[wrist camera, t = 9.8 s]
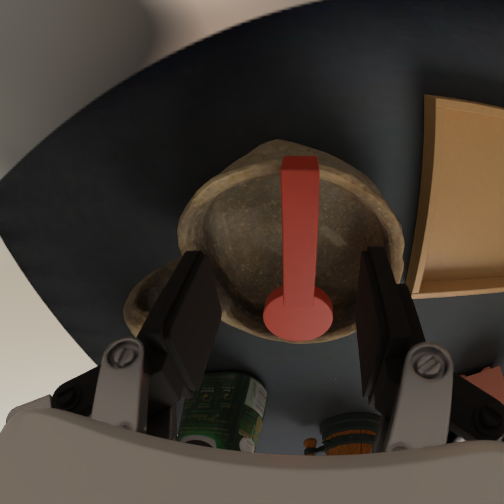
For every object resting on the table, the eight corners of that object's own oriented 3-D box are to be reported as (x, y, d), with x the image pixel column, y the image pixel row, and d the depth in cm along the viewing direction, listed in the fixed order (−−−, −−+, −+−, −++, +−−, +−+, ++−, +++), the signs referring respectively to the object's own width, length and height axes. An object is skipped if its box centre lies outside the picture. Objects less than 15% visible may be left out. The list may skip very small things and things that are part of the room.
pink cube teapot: (431, 379, 30) (442, 436, 24) (509, 355, 27) (527, 406, 20) (424, 406, 34) (431, 456, 28) (494, 385, 31) (507, 431, 24)
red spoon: (254, 155, 13) (247, 169, 11) (345, 156, 12) (352, 171, 11) (266, 329, 19) (261, 354, 18) (329, 331, 19) (329, 357, 17)
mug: (386, 407, 35) (390, 483, 25) (381, 433, 40) (383, 496, 31) (294, 416, 39) (285, 490, 29) (304, 440, 44) (298, 501, 34)
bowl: (392, 282, 24) (418, 383, 15) (199, 307, 28) (164, 396, 20) (376, 112, 17) (440, 155, 8) (135, 171, 22) (51, 240, 13)
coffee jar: (212, 401, 39) (180, 521, 24) (182, 370, 35) (136, 505, 20) (277, 398, 36) (256, 534, 21) (254, 364, 32) (221, 527, 17)
